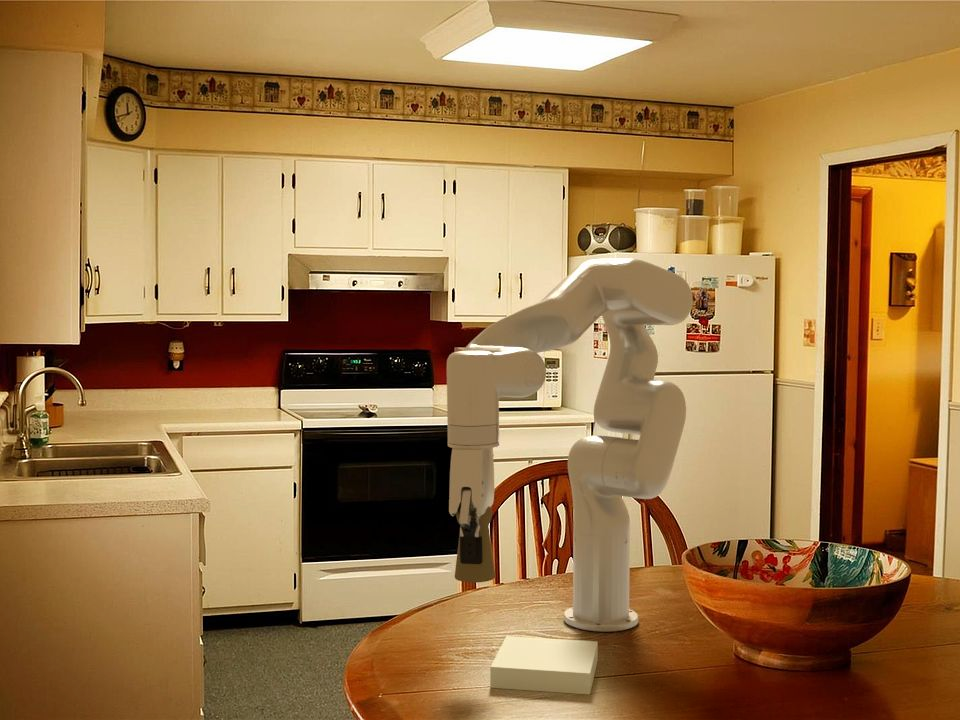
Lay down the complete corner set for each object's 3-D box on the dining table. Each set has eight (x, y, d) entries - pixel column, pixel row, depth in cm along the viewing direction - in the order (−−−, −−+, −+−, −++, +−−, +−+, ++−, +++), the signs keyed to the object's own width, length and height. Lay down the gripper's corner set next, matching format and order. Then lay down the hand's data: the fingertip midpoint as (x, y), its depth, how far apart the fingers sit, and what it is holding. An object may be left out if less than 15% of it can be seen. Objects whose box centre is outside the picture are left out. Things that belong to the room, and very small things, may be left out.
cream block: (506, 655, 164) (506, 635, 164) (597, 660, 161) (597, 641, 161) (490, 687, 150) (490, 666, 150) (589, 694, 148) (589, 673, 147)
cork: (495, 570, 160) (494, 498, 159) (496, 582, 154) (495, 507, 153) (454, 571, 160) (453, 499, 159) (454, 582, 154) (452, 507, 153)
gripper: (461, 427, 164) (463, 544, 165) (433, 443, 148) (435, 573, 149) (509, 428, 163) (510, 546, 164) (486, 445, 146) (488, 575, 148)
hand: (475, 557), depth 156 cm, fingers closed on cork, 4 cm apart
